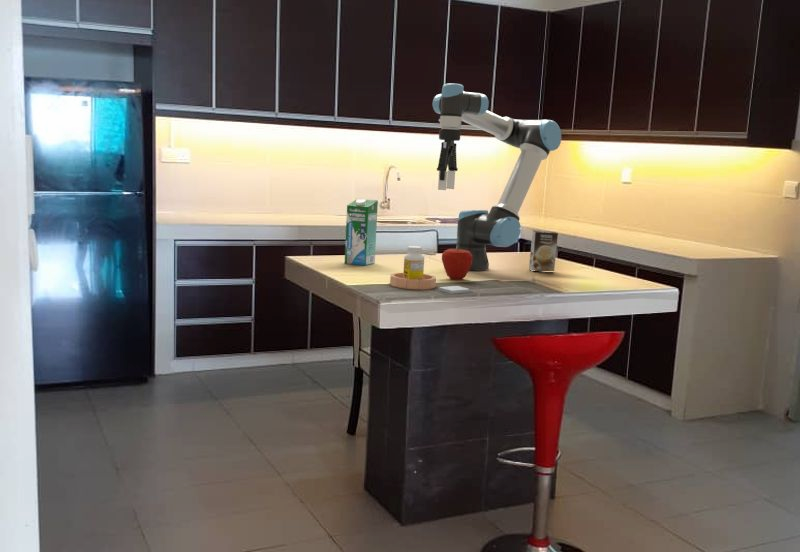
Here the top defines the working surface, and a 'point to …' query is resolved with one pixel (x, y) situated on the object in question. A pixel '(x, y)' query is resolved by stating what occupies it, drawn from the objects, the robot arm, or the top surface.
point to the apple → (457, 263)
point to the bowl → (413, 282)
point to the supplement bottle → (413, 263)
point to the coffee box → (543, 251)
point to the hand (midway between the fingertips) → (446, 189)
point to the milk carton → (361, 232)
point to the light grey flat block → (454, 289)
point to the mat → (451, 294)
